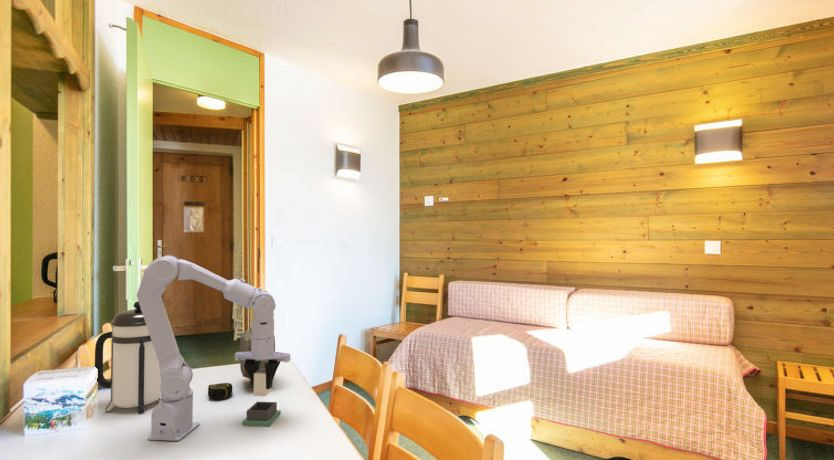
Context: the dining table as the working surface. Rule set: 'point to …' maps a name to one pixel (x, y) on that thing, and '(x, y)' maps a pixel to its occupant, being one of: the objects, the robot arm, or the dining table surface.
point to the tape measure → (220, 390)
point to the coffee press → (130, 362)
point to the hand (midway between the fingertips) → (262, 387)
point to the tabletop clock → (246, 347)
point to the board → (261, 414)
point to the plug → (260, 383)
